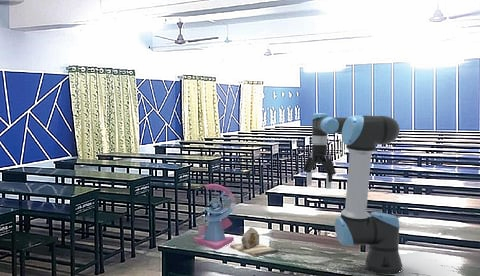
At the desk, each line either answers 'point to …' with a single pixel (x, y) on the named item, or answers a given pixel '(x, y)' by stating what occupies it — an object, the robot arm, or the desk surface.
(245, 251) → the board
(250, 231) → the rock
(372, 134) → the robot arm
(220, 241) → the trophy
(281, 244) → the desk surface
